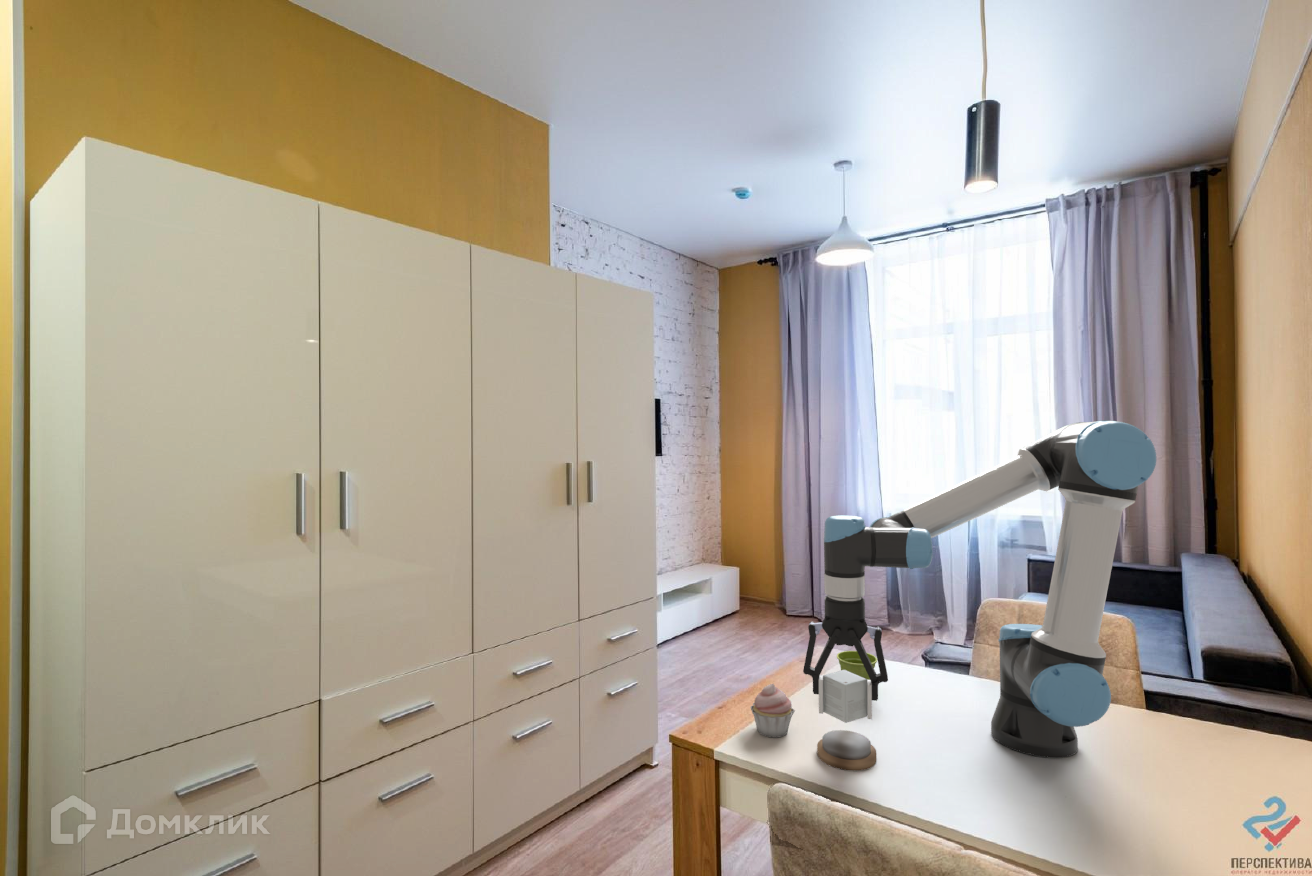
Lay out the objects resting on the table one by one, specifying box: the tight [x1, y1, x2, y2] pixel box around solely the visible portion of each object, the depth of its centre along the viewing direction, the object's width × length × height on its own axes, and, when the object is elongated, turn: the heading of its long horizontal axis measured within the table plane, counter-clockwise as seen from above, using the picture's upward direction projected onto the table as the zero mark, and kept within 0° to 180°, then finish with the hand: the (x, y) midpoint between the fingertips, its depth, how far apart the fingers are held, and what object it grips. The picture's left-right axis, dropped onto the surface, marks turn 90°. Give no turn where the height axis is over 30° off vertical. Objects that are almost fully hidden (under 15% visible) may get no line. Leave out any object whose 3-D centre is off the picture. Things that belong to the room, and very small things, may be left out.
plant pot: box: [836, 650, 878, 680], centre depth 157 cm, size 9×9×9 cm
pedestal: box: [816, 729, 877, 772], centre depth 126 cm, size 11×11×3 cm
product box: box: [822, 669, 868, 724], centre depth 126 cm, size 6×6×7 cm
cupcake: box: [750, 683, 796, 738], centre depth 137 cm, size 9×9×10 cm
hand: (845, 713), depth 126 cm, fingers closed on product box, 8 cm apart
